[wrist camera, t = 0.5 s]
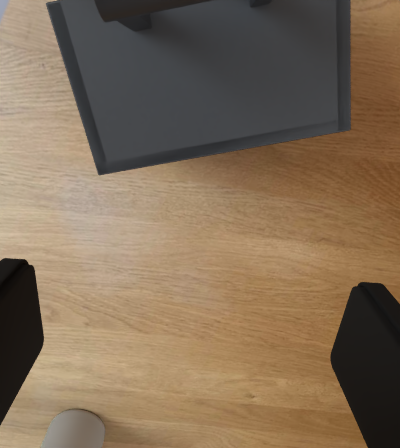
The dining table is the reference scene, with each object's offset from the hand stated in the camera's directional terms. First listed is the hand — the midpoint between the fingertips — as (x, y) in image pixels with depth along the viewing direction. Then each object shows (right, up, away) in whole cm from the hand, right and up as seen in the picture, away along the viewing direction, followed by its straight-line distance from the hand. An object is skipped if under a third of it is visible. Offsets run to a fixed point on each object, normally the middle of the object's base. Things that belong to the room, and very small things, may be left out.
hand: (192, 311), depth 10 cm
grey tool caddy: (+1, +7, +12) cm, 14 cm away
